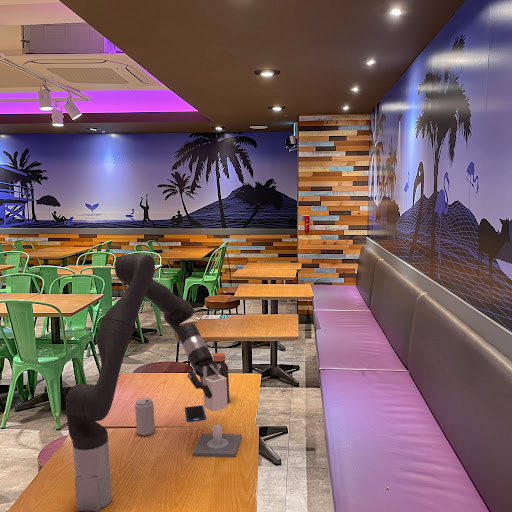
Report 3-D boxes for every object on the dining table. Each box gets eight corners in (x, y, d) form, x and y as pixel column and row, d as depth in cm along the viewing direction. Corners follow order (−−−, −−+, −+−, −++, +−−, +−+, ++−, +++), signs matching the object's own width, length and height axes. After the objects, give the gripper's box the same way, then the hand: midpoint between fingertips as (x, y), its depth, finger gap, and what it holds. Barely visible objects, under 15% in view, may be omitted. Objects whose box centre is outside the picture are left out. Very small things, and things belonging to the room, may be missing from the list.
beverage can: (150, 437, 182) (148, 404, 180) (133, 436, 183) (131, 403, 182) (157, 429, 188) (155, 397, 187) (141, 428, 189) (139, 396, 188)
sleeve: (227, 407, 171) (226, 377, 170) (213, 411, 168) (212, 382, 167) (218, 402, 176) (216, 373, 175) (204, 406, 172) (202, 377, 171)
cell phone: (186, 423, 193) (186, 421, 193) (184, 408, 207) (184, 407, 207) (206, 421, 194) (206, 419, 194) (203, 406, 208) (203, 405, 208)
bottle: (214, 406, 207) (212, 357, 205) (211, 400, 214) (209, 353, 212) (231, 404, 209) (229, 355, 207) (227, 398, 215) (225, 351, 213)
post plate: (235, 456, 165) (234, 436, 165) (192, 455, 167) (191, 435, 166) (241, 437, 179) (240, 417, 178) (202, 436, 181) (201, 417, 180)
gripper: (182, 350, 171) (203, 395, 163) (218, 341, 180) (240, 383, 172) (175, 362, 176) (195, 406, 168) (211, 353, 185) (231, 394, 177)
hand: (218, 394), depth 170 cm, fingers closed on sleeve, 5 cm apart
